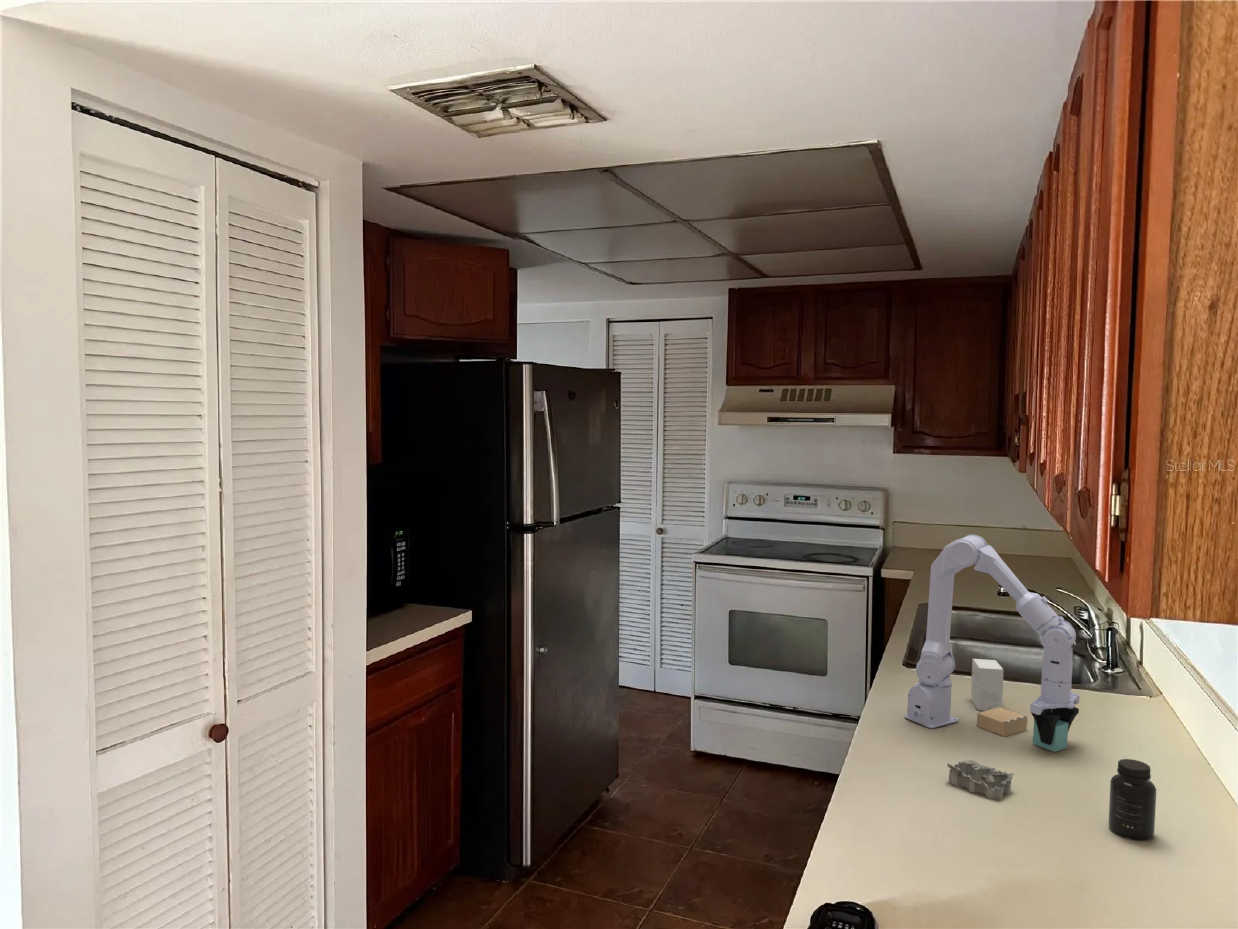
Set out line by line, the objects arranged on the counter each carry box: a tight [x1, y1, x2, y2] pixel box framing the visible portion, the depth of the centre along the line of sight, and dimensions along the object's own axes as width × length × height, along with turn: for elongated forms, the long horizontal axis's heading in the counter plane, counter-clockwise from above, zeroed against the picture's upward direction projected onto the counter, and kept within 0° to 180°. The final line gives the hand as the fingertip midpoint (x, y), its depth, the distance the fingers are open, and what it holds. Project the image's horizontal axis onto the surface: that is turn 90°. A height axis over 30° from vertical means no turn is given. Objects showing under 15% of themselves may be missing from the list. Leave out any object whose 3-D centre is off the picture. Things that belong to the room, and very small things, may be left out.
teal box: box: [1032, 718, 1069, 753], centre depth 184 cm, size 4×5×6 cm
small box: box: [970, 658, 1004, 712], centre depth 208 cm, size 8×6×10 cm
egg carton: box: [946, 759, 1014, 800], centre depth 164 cm, size 11×8×4 cm
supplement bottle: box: [1108, 758, 1157, 841], centre depth 147 cm, size 7×7×12 cm
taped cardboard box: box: [976, 707, 1028, 737], centre depth 194 cm, size 8×7×3 cm
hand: (1053, 741), depth 183 cm, fingers closed on teal box, 4 cm apart
